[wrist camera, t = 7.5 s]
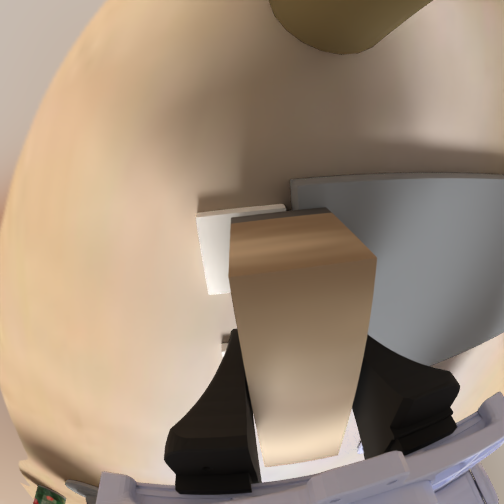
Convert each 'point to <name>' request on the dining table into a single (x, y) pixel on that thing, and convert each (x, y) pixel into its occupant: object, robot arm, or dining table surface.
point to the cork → (343, 21)
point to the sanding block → (300, 326)
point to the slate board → (424, 254)
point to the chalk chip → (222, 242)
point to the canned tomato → (48, 496)
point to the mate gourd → (83, 490)
